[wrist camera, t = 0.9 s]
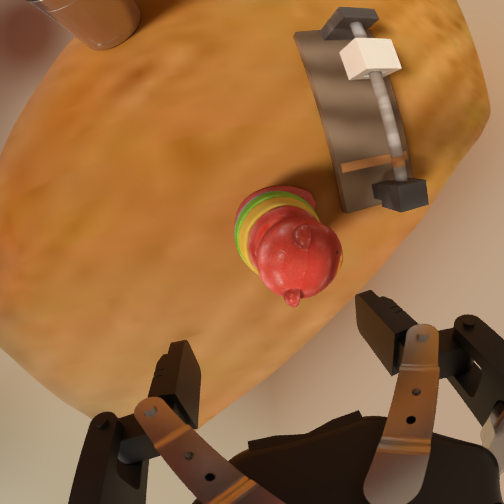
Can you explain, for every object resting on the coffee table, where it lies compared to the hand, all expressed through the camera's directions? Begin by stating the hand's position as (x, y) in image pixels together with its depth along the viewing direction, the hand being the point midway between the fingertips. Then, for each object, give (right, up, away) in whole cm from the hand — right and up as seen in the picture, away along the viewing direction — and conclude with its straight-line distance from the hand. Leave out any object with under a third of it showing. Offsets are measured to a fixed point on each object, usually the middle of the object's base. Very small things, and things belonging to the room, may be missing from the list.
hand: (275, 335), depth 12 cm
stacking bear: (+2, +8, +25) cm, 26 cm away
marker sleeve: (+13, +27, +15) cm, 33 cm away
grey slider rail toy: (+14, +23, +21) cm, 34 cm away
